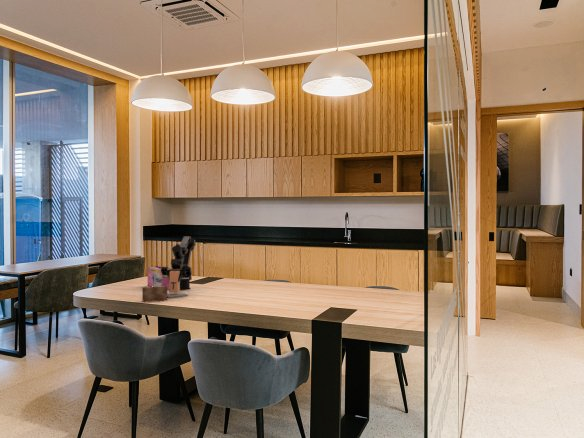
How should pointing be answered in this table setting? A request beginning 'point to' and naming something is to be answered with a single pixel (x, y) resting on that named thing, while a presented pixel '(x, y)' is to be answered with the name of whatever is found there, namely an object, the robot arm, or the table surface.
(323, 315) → the table surface
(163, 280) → the gum box
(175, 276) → the letter block
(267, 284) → the table surface
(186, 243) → the robot arm
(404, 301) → the table surface
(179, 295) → the grey mat
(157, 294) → the walnut screen
